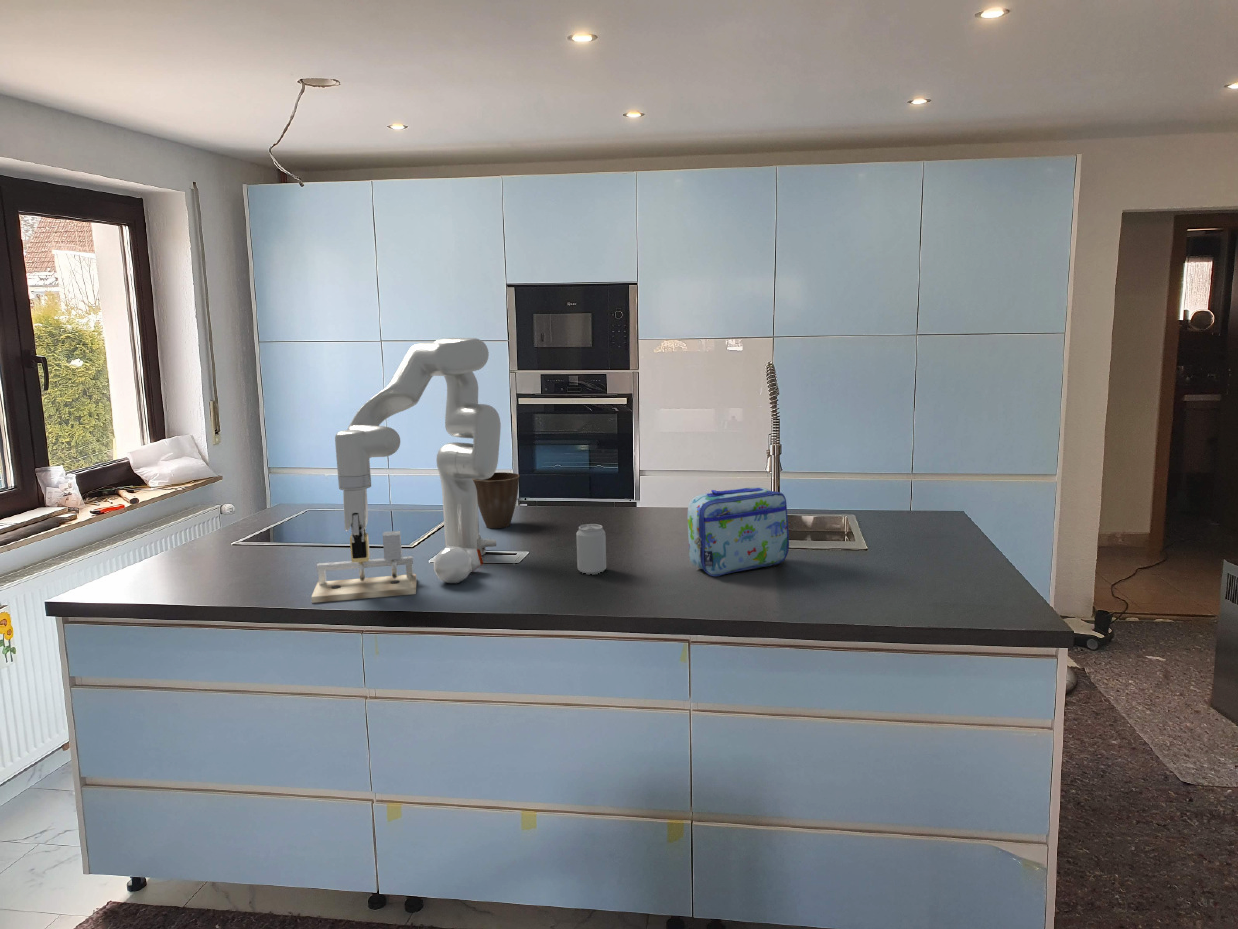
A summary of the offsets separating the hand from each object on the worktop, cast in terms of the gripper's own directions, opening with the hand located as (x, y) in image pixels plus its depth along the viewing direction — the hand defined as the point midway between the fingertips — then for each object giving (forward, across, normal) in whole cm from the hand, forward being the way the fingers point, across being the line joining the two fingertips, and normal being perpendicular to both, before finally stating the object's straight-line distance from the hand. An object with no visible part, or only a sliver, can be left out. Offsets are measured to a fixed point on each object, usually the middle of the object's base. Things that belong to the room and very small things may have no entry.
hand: (360, 554), depth 214 cm
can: (+9, 0, +57) cm, 58 cm away
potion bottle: (+10, -4, +23) cm, 25 cm away
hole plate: (+9, 0, +1) cm, 9 cm away
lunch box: (+10, +8, +94) cm, 95 cm away
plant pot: (+9, -57, +37) cm, 69 cm away
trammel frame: (+8, -2, +1) cm, 8 cm away
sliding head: (+7, -1, 0) cm, 7 cm away
